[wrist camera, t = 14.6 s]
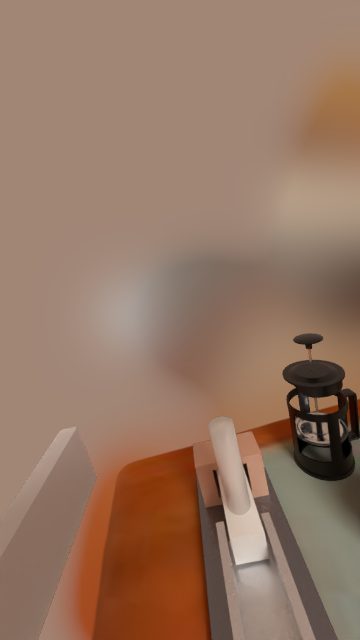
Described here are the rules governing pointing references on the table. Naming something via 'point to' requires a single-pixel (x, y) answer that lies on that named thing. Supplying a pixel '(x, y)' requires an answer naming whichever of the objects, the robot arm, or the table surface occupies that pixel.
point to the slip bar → (237, 495)
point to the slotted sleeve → (260, 581)
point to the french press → (321, 414)
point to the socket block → (208, 467)
